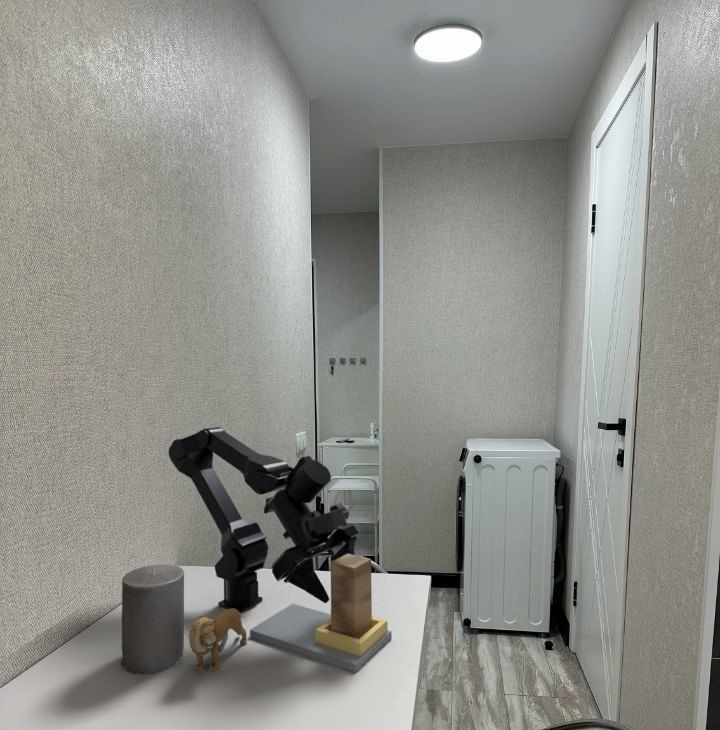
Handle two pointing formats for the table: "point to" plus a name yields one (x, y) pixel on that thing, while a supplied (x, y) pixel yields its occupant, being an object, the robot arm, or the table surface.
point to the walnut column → (351, 596)
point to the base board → (321, 637)
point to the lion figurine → (214, 635)
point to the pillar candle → (152, 618)
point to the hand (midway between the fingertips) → (344, 591)
